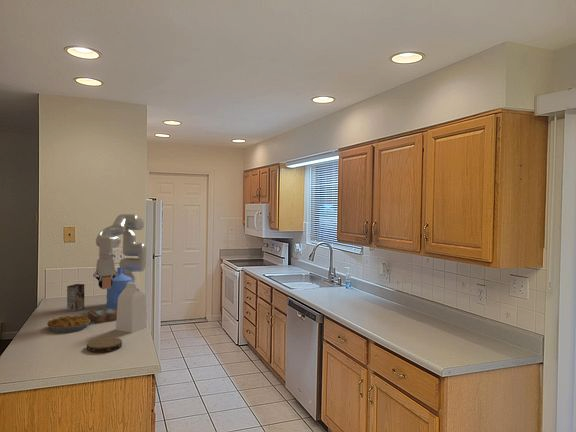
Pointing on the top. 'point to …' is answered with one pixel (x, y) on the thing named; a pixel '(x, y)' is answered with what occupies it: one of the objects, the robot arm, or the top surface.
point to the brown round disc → (104, 345)
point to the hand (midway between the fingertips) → (105, 286)
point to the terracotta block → (106, 282)
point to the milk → (131, 309)
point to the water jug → (116, 289)
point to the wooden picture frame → (103, 315)
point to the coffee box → (75, 297)
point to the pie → (68, 323)
